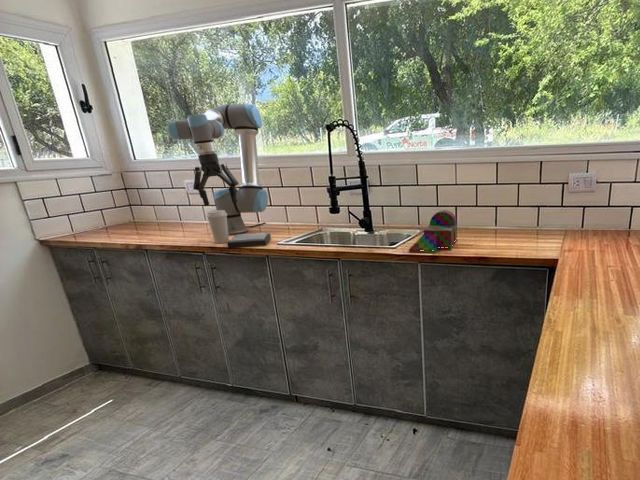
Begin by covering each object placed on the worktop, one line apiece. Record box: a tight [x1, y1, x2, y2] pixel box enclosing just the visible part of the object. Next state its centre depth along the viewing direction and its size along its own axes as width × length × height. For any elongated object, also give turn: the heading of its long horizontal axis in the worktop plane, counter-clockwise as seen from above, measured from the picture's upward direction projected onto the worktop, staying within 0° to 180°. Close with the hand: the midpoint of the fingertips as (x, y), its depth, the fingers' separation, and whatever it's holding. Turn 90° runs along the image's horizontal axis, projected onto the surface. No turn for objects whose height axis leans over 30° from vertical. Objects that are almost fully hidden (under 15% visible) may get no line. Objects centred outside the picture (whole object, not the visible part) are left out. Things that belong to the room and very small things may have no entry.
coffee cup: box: [205, 209, 230, 244], centre depth 218 cm, size 10×10×15 cm
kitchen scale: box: [226, 232, 272, 249], centre depth 217 cm, size 18×17×3 cm
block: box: [408, 209, 458, 254], centre depth 196 cm, size 25×17×14 cm
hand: (220, 203), depth 200 cm, fingers open, 13 cm apart
